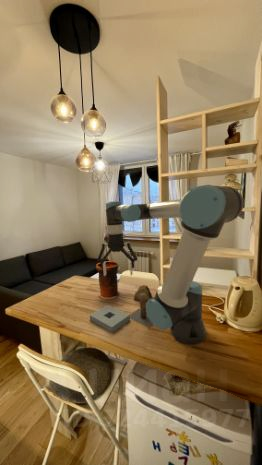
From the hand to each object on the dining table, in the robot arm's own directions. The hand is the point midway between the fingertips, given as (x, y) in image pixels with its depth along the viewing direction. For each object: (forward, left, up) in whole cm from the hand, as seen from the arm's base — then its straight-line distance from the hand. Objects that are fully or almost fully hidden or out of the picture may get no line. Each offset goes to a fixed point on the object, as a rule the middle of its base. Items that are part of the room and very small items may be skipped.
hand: (118, 274), depth 99 cm
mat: (-12, -5, -22) cm, 25 cm away
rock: (0, -20, -22) cm, 30 cm away
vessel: (+22, -13, -22) cm, 34 cm away
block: (0, +7, -22) cm, 23 cm away
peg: (-12, -5, -21) cm, 25 cm away
